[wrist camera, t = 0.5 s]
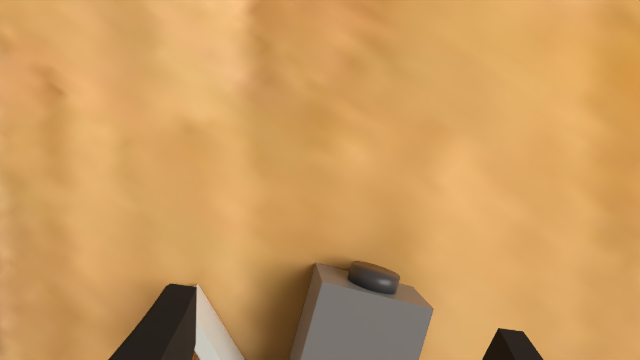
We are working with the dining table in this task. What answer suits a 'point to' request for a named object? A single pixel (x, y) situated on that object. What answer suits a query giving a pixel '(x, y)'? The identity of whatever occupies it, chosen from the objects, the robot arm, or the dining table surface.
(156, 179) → the dining table surface
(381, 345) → the camera case
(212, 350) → the side door
